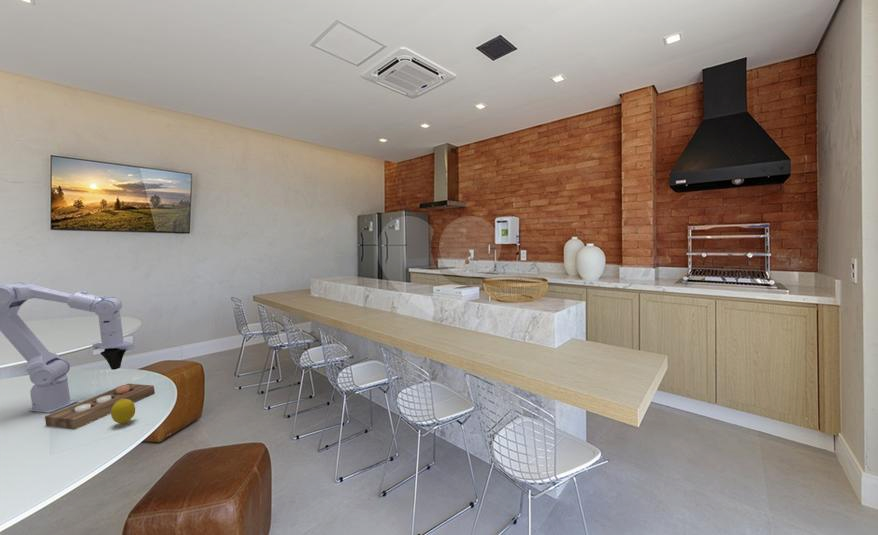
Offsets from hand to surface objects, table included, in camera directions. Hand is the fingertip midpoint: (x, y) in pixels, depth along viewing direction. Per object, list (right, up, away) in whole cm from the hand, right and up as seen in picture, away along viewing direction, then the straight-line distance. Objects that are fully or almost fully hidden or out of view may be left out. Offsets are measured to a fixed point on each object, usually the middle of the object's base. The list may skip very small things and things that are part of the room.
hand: (116, 368), depth 127 cm
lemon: (+20, -12, -18) cm, 29 cm away
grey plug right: (+2, -11, -14) cm, 18 cm away
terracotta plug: (+5, -9, -2) cm, 10 cm away
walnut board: (+4, -11, -8) cm, 14 cm away
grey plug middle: (+3, -10, -8) cm, 14 cm away
